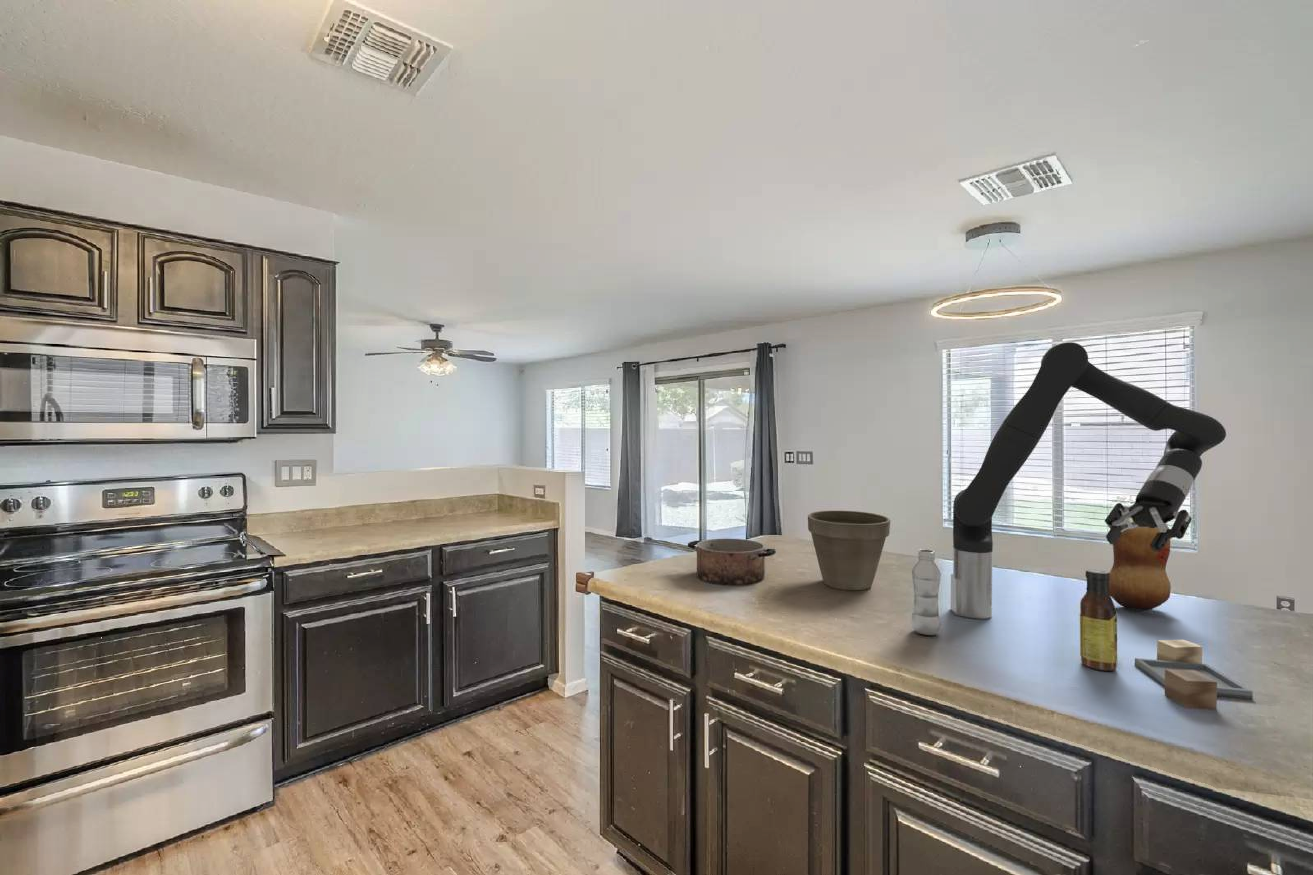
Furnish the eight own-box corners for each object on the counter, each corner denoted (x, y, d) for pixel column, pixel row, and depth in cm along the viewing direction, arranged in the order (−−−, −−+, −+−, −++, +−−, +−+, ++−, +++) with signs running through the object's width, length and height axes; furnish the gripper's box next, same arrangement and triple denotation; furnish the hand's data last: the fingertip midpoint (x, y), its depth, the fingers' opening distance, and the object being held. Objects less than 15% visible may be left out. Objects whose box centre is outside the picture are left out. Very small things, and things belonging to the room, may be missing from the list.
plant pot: (890, 599, 169) (891, 524, 169) (802, 591, 178) (803, 519, 177) (889, 578, 192) (889, 512, 192) (811, 571, 201) (812, 508, 201)
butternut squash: (1151, 620, 151) (1153, 523, 151) (1095, 605, 164) (1096, 516, 163) (1181, 613, 157) (1183, 520, 156) (1125, 599, 169) (1126, 513, 169)
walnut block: (1185, 708, 105) (1186, 680, 105) (1164, 695, 110) (1165, 669, 110) (1216, 709, 104) (1217, 681, 104) (1193, 696, 109) (1194, 670, 109)
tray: (1171, 691, 111) (1171, 684, 111) (1134, 665, 123) (1134, 658, 123) (1252, 699, 108) (1252, 691, 108) (1206, 671, 120) (1206, 664, 120)
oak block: (1174, 668, 122) (1174, 647, 122) (1156, 661, 126) (1157, 640, 125) (1201, 668, 122) (1202, 646, 122) (1183, 660, 126) (1183, 639, 126)
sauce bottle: (1123, 673, 119) (1125, 576, 118) (1089, 671, 120) (1090, 574, 120) (1106, 661, 125) (1107, 568, 125) (1073, 658, 127) (1074, 567, 126)
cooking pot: (674, 578, 193) (674, 546, 193) (704, 564, 212) (704, 535, 212) (761, 592, 178) (761, 556, 177) (785, 575, 197) (785, 543, 197)
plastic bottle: (938, 630, 144) (939, 549, 144) (942, 640, 138) (943, 555, 137) (909, 627, 146) (910, 547, 146) (912, 636, 140) (913, 553, 139)
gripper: (1122, 476, 137) (1088, 529, 133) (1195, 481, 123) (1161, 540, 120) (1137, 498, 139) (1104, 550, 135) (1211, 505, 125) (1178, 563, 122)
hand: (1131, 545), depth 127 cm, fingers open, 8 cm apart
